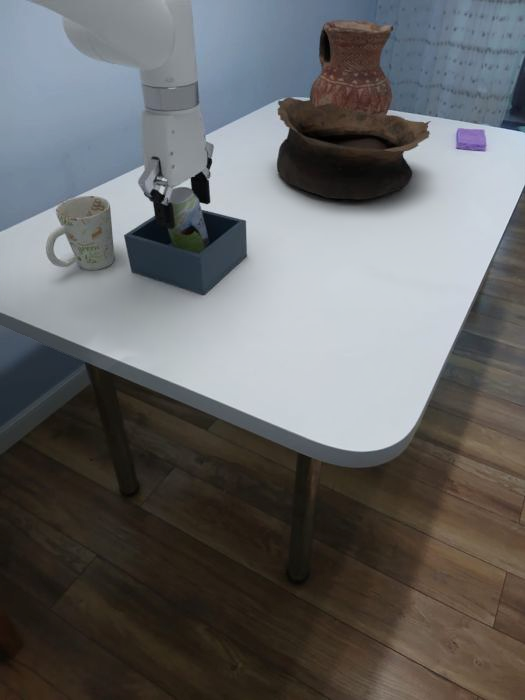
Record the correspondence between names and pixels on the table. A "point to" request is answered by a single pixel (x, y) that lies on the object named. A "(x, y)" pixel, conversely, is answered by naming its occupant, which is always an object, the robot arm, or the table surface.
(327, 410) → the table surface
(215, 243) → the bin
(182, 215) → the beverage can
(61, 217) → the mug
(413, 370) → the table surface
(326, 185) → the bowl
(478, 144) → the sponge
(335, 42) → the jug
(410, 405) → the table surface
